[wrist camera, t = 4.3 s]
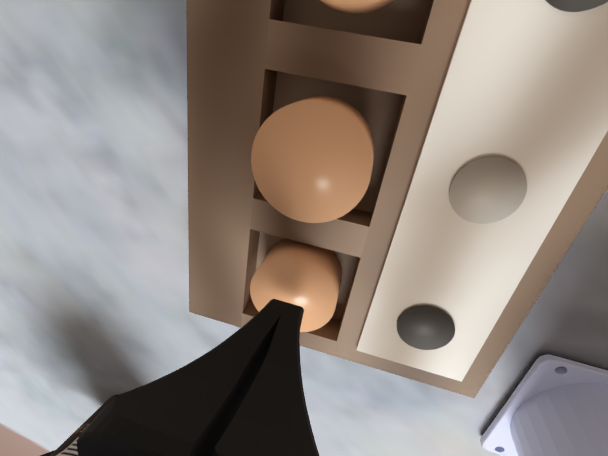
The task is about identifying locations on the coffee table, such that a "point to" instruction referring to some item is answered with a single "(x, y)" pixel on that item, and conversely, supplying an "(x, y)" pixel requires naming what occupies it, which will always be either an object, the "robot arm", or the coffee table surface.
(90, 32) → the coffee table surface
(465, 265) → the button board
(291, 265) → the button
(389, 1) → the button
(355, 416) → the coffee table surface
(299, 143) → the button
